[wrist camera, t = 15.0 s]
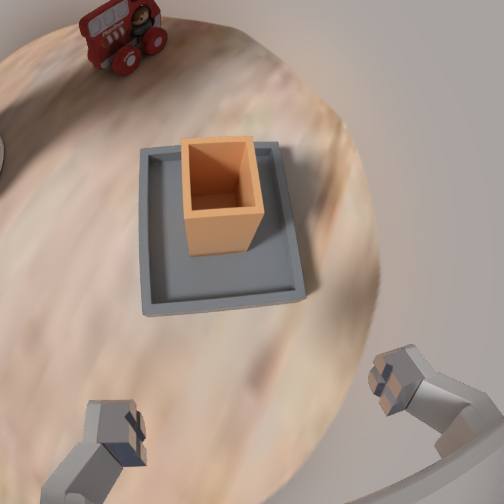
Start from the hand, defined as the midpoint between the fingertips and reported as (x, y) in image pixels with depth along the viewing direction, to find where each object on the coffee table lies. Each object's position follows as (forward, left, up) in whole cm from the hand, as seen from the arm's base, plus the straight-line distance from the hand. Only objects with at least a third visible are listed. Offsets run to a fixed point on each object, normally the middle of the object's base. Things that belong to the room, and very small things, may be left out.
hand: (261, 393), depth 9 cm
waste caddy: (+4, +12, -17) cm, 21 cm away
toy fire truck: (+1, +40, -18) cm, 44 cm away
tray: (+4, +12, -18) cm, 22 cm away
